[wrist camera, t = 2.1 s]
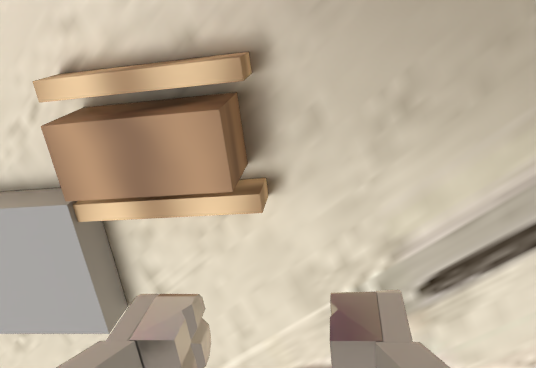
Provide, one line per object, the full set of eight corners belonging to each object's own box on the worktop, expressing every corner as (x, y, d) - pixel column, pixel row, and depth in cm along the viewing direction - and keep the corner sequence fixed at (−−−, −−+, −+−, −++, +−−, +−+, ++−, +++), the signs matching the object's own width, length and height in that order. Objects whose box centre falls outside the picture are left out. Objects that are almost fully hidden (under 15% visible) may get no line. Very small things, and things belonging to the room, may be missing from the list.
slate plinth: (91, 185, 29) (66, 204, 27) (127, 306, 33) (109, 333, 30) (-35, 194, 31) (-71, 212, 29) (12, 307, 35) (-15, 333, 32)
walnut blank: (237, 91, 26) (219, 109, 22) (248, 162, 27) (233, 191, 23) (84, 106, 28) (40, 126, 23) (103, 172, 29) (65, 201, 25)
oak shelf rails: (248, 51, 25) (239, 57, 22) (268, 195, 28) (262, 212, 26) (58, 74, 27) (32, 81, 24) (97, 205, 30) (78, 221, 28)
